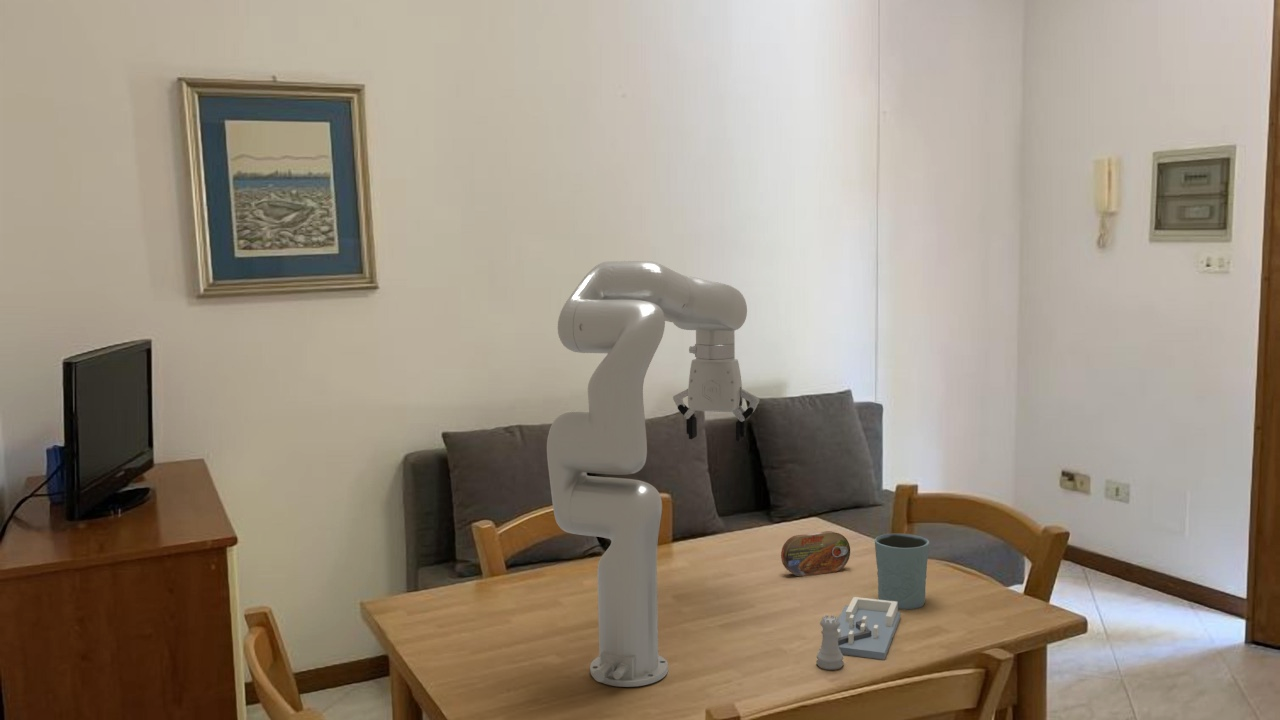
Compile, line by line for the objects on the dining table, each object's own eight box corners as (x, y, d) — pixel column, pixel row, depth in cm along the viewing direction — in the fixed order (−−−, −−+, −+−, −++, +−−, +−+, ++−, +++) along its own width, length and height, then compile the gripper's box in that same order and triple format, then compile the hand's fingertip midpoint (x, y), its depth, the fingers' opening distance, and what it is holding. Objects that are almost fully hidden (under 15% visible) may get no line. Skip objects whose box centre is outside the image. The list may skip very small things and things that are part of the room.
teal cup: (890, 613, 190) (891, 550, 189) (864, 595, 200) (864, 535, 199) (939, 607, 193) (940, 544, 192) (911, 589, 203) (911, 530, 201)
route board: (884, 659, 169) (884, 642, 169) (823, 652, 173) (823, 634, 172) (900, 617, 188) (900, 601, 187) (845, 611, 191) (845, 596, 191)
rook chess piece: (824, 657, 171) (824, 611, 170) (848, 664, 168) (849, 616, 167) (810, 666, 167) (810, 618, 166) (835, 673, 164) (835, 624, 163)
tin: (785, 579, 211) (785, 539, 210) (779, 574, 214) (778, 534, 213) (851, 570, 215) (851, 531, 214) (843, 566, 218) (843, 527, 217)
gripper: (667, 353, 200) (668, 440, 202) (753, 355, 194) (754, 445, 196) (679, 349, 207) (680, 433, 209) (763, 351, 201) (763, 438, 203)
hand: (716, 439), depth 202 cm, fingers open, 9 cm apart
